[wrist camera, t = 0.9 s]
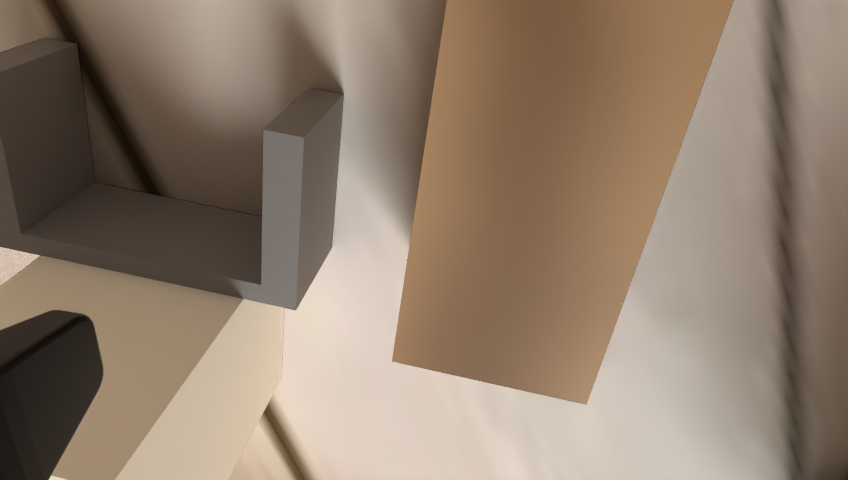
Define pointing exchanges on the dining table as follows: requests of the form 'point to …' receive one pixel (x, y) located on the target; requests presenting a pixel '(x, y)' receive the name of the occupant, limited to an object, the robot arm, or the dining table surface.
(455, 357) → the brown wooden block
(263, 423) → the dining table surface
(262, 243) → the post bracket
